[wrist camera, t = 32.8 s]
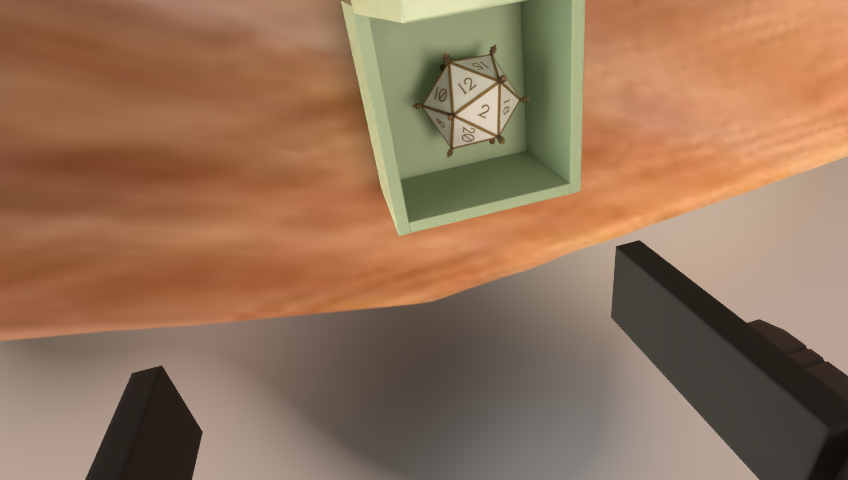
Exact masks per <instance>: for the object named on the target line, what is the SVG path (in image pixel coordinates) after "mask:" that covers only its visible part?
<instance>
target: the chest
mask: <svg viewBox="0 0 848 480" xmlns="http://www.w3.org/2000/svg"><path fill="white" fill-rule="evenodd" d="M341 4H342V9H343V14H344V18H345V23H346V27H347V32H348V37H349V41H350V46H351V51H352V55H353V60H354V64H355V69H356V74H357V78H358V83H359V88H360V92H361V97H362V101H363V106H364V111H365V115H366V120H367V124H368V129H369V134H370V138H371V143H372V148H373V152H374V157H375V161H376V166H377V171H378V175H379V180H380V185H381V189H382V192H383V195H384V197H385V200H386V203H387V205H388V208H389V211H390V213H391V216H392V219H393V221H394V224H395V227H396V229H397V232H398V235H399V236H401V235H405V234H409V233H412V232H417V231H421V230H425V229H429V228H433V227H437V226H441V225H445V224H449V223H453V222H457V221H461V220H466V219H470V218H474V217H478V216H482V215H486V214H490V213H494V212H498V211H502V210H506V209H510V208H515V207H519V206H523V205H527V204H531V203H535V202H539V201H543V200H547V199H551V198H555V197H559V196H563V195H568V194H572V193H576V192H580V191H581V156H582V112H583V69H584V26H585V0H526V1H521V2H516V3H510V4H505V5H500V6H495V7H490V8H484V9H479V10H474V11H469V12H463V13H458V14H453V15H448V16H443V17H437V18H432V19H427V20H422V21H416V22H411V23H406V24H405V23H399V22H394V21H389V20H384V19H379V18H373V17H368V16H363V15H358V14H354V13H353V9H352V4H351V0H341ZM495 44H496V49H497V50H496V51H495V54H493V56H494V58H495V60H496V61H497V63H498V64H499V66H500V67H501V69H502V70H503V72H504V74H505V75H506V76H507V78H508V80H509V81H510V83H511V84H512V86H513V88H514V89H515V91H516V92H517V94H518V95H519V97H522V96H527V97H529V98H531V99H529V100H528V101H527V102H521V101H520V102H519V104H518V105H517V107H516V109H515V111H514V112H513V114H512V116H511V118H510V119H509V121H508V123H507V125H506V126H505V128H504V130H503V132H502V133H501V135H500V136H503V138H505V145H504V144H500V143H499V142H498V141H497V138H496V139H495V144H490V142H489V140H488V141H484V142H480V143H476V144H472V145H468V146H464V147H460V148H456V149H454V150H453V152H454V153H453V154H452V156H450V157H449V158H447V152H448V150H449V149H450V147H449V145H448V144H447V142H446V141H445V139H444V138H443V137H442V135H441V134H440V132H439V131H438V129H437V128H436V126H435V125H434V123H433V122H432V121H431V119H430V118H429V116H428V115H427V113H426V112H425V110H424V109H423V108H420V109H415V108H413V107H412V106H413V105H414V104H415V103H420V104H422V103H423V102H424V100H425V99H426V97H427V95H428V94H429V92H430V90H431V89H432V87H433V85H434V84H435V82H436V81H437V79H438V77H439V76H440V74H441V72H442V70H440V66H441V65H440V64H442V65H443V64H444V65H445V66H446V64H447V63H446V62H445V60H443V56H444V53H445V54H447V55H450V56H449V57H451V59H450V60H451V61H454V60H459V59H465V58H471V57H476V56H482V55H488V54H490V51H489V50H490V49H491V48H490V47H492V46H494V45H495Z"/></svg>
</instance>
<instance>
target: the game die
mask: <svg viewBox="0 0 848 480" xmlns="http://www.w3.org/2000/svg"><path fill="white" fill-rule="evenodd" d="M490 48H491V49H490V50H489V51H490V54H488V55H482V56H476V57H471V58H465V59H459V60H454V61H451V60H450V59H451V57H449V56H450V55H447V54H445V53H444V56H443V60H445V62H446V63H447V64H446V66H445V65H444V64H443V65H442V64H440V65H441V66H440V70H442V72H441V74H440V76H439V77H438V79H437V81H436V82H435V84H434V85H433V87H432V89H431V90H430V92H429V94H428V95H427V97H426V99H425V100H424V102H423V103H422V104H420V103H415V104H414V105H413V106H412V107H413V108H415V109H420V108H423V109H424V110H425V112H426V113H427V115H428V116H429V118H430V119H431V121H432V122H433V123H434V125H435V126H436V128H437V129H438V131H439V132H440V134H441V135H442V137H443V138H444V139H445V141H446V142H447V144H448V145H449V147H450V149H449V150H448V152H447V158H449V157H450V156H452V154H453V153H454V152H453V150H454V149H456V148H460V147H464V146H468V145H472V144H476V143H480V142H484V141H488V140H489V142H490V144H495V139H496V138H497V141H498V142H499V143H500V144H504V145H505V138H503V136H500V135H501V133H502V132H503V130H504V128H505V126H506V125H507V123H508V121H509V119H510V118H511V116H512V114H513V112H514V111H515V109H516V107H517V105H518V104H519V102H520V101H521V102H527V101H528V100H529V99H531V98H529V97H527V96H522V97H519V95H518V94H517V92H516V91H515V89H514V88H513V86H512V84H511V83H510V81H509V80H508V78H507V76H506V75H505V74H504V72H503V70H502V69H501V67H500V66H499V64H498V63H497V61H496V60H495V58H494V56H493V54H495V51H496V50H497V49H496V44H495V45H494V46H492V47H490Z"/></svg>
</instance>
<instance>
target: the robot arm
mask: <svg viewBox="0 0 848 480" xmlns="http://www.w3.org/2000/svg"><path fill="white" fill-rule="evenodd" d="M611 318H612V319H613V320H614V321H615V322H616V323H617V324H618V325H619V326H620V327H621V329H622V330H623V331H624V332H625V333H626V334H627V335H628V336H629V337H630V338H631V340H632V341H633V342H634V343H635V344H636V345H637V346H638V347H639V348H640V349H641V351H642V352H643V353H644V354H645V355H646V356H647V357H648V358H649V359H650V360H651V361H652V363H653V364H654V365H655V366H656V367H657V368H658V369H659V370H660V371H661V372H662V374H663V375H664V376H665V377H666V378H667V379H668V380H669V381H670V382H671V383H672V384H673V386H674V387H675V388H676V389H677V390H678V391H679V392H680V393H681V394H682V395H683V397H684V398H686V400H687V401H688V402H689V403H690V404H691V405H692V406H693V407H694V409H695V410H696V411H697V412H698V413H699V414H700V415H701V416H702V417H703V418H704V420H705V421H706V422H707V423H708V424H709V425H710V426H711V427H712V428H713V429H714V430H715V432H716V433H717V434H718V435H719V436H720V437H721V438H722V439H723V440H724V441H725V442H726V444H727V445H728V446H729V447H730V448H731V449H732V450H733V451H734V452H735V453H736V455H737V456H738V457H739V458H740V459H741V460H742V461H743V462H744V463H745V464H746V465H747V467H748V468H749V469H750V470H751V471H752V472H753V473H754V474H755V475H756V476H757V478H758V479H759V480H848V376H847V375H846V374H844V373H843V372H842V371H840V370H839V369H837V368H836V367H835V366H833V365H832V364H830V363H829V362H825V361H824V360H823V358H822V357H821V356H820V355H818V354H817V353H815V352H814V351H813V350H811V349H807V348H806V345H804V344H803V343H801V342H800V341H799V340H798V339H796V338H795V337H793V336H792V335H791V334H789V333H788V332H787V331H785V330H783V329H781V328H778V327H776V326H774V325H771V324H769V323H767V322H765V321H762V320H760V319H759V320H755V321H752V322H749V323H746V322H745V321H743V320H742V319H741V318H740V317H738V316H737V315H736V314H734V313H733V312H732V311H730V310H729V309H728V308H726V307H725V306H724V305H723V304H721V303H720V302H719V301H718V300H716V299H715V298H714V297H712V296H711V295H710V294H708V293H707V292H706V291H705V290H703V289H702V288H701V287H699V286H698V285H697V284H696V283H694V282H693V281H692V280H690V279H689V278H688V277H686V276H685V275H684V274H683V273H681V272H680V271H679V270H677V269H676V268H675V267H673V266H672V265H671V264H670V263H668V262H667V261H666V260H664V259H663V258H662V257H660V256H659V255H658V254H657V253H655V252H654V251H653V250H651V249H650V248H649V247H647V246H646V245H645V244H644V243H642V242H641V241H635V242H631V243H627V244H623V245H620V246H616V255H615V270H614V283H613V298H612V312H611ZM201 437H202V430H201V429H200V427H199V425H198V424H197V422H196V421H195V419H194V417H193V416H192V414H191V412H190V411H189V409H188V407H187V406H186V404H185V402H184V401H183V399H182V398H181V396H180V394H179V393H178V391H177V389H176V388H175V386H174V385H173V383H172V381H171V380H170V378H169V376H168V375H167V373H166V372H165V370H164V368H163V367H162V366H159V367H154V368H151V369H147V370H143V371H139V372H135V373H132V375H131V377H130V379H129V382H128V384H127V386H126V388H125V390H124V393H123V395H122V397H121V400H120V402H119V404H118V406H117V409H116V411H115V413H114V416H113V418H112V420H111V423H110V425H109V427H108V429H107V432H106V434H105V436H104V439H103V441H102V443H101V445H100V448H99V450H98V452H97V454H96V457H95V459H94V461H93V464H92V466H91V468H90V470H89V473H88V475H87V477H86V479H85V480H192V476H193V472H194V468H195V463H196V459H197V454H198V450H199V446H200V441H201Z"/></svg>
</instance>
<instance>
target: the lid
mask: <svg viewBox="0 0 848 480" xmlns="http://www.w3.org/2000/svg"><path fill="white" fill-rule="evenodd" d="M521 1H526V0H351V4H352V9H353V13H354V14H358V15H363V16H368V17H373V18H379V19H384V20H389V21H394V22H399V23H405V24H406V23H411V22H416V21H422V20H427V19H432V18H437V17H443V16H448V15H453V14H458V13H463V12H469V11H474V10H479V9H484V8H490V7H495V6H500V5H505V4H510V3H516V2H521Z"/></svg>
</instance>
